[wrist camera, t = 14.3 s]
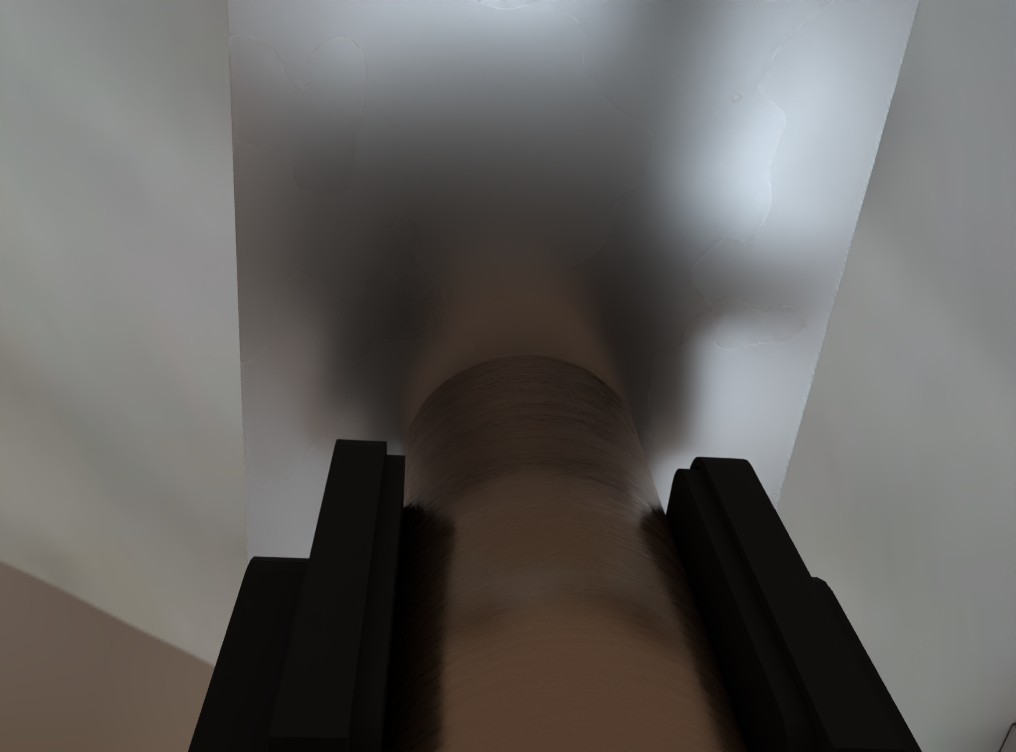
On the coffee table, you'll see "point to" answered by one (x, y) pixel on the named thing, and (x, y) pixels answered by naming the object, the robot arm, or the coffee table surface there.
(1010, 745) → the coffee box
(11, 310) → the coffee table surface
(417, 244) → the trowel
